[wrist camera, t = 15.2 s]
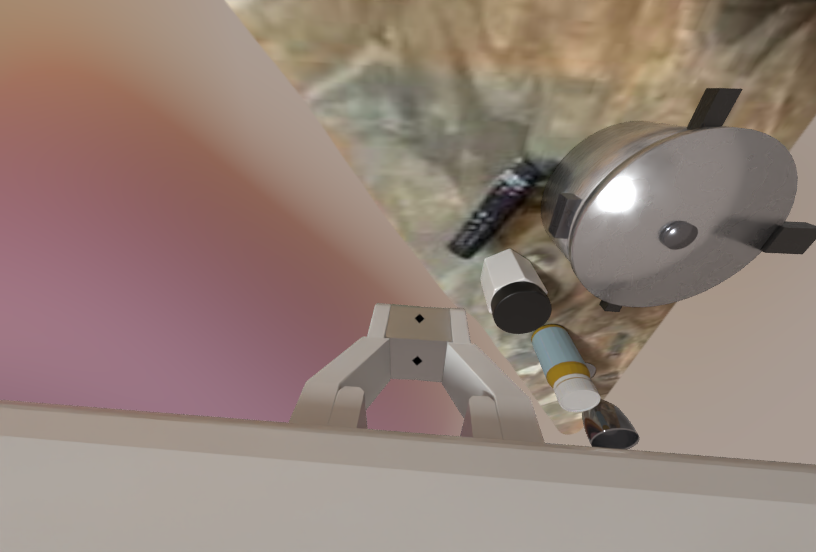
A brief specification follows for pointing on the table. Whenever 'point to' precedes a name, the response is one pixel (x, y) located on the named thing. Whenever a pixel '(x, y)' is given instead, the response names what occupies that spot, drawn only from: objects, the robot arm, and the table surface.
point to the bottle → (564, 369)
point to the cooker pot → (614, 163)
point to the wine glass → (608, 424)
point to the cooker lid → (686, 216)
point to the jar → (514, 293)
